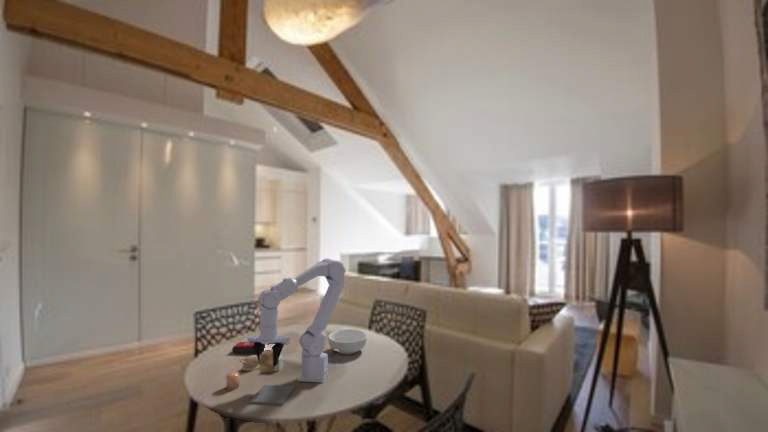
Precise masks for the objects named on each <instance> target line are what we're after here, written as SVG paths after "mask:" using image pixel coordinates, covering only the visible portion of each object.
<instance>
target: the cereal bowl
mask: <svg viewBox="0 0 768 432" xmlns="http://www.w3.org/2000/svg"><path fill="white" fill-rule="evenodd" d="M367 336H368V335H367V334H366V333H365V332H364V331H362V330H360V329H353V328H352V329H349V328H348V329H339V330H336V331H332V332H331V333H329V334H328V344H329V347H330V348H331V349H332V350H333V349H338V350H339V352H338V353H340V354H342V355H353V354H355V353H357V352H359V351H361V350H362V349H363V348H365V346H366V343H367ZM336 338H342V339H343V340H344V341H345V343H344V342H337V341H334V340H335V339H336Z"/></svg>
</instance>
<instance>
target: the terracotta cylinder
mask: <svg viewBox="0 0 768 432" xmlns="http://www.w3.org/2000/svg"><path fill="white" fill-rule="evenodd" d="M225 382H226V384H225V385H226V387H225V388H226V390H227V391H235V390H237V389H239V387H240V372H239V371H231V372H229V373H227V374H226V380H225Z"/></svg>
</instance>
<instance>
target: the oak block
mask: <svg viewBox="0 0 768 432" xmlns="http://www.w3.org/2000/svg"><path fill="white" fill-rule="evenodd" d="M273 359H274V357H273V350H272V349H271V350H265V351H263V352H262V353H261V354H260V357H259V368H258V370H259V372H267V373H272V372H274V371H273V370H274V369H275V368H276V367H277V366H278V364H277V365H276V366H274V365H273Z"/></svg>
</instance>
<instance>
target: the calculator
mask: <svg viewBox="0 0 768 432" xmlns="http://www.w3.org/2000/svg"><path fill="white" fill-rule="evenodd" d="M247 338H248V337H247ZM247 338H245V337H244V338H243V339H241V340H239V341H238V342H237V343H236V344H235V345H234V346H233V347H232V355H256V353H255V351H254V350H253V348H252V346H253V345H254V343H250V344H249V343H247ZM265 345H269V344H265Z"/></svg>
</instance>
